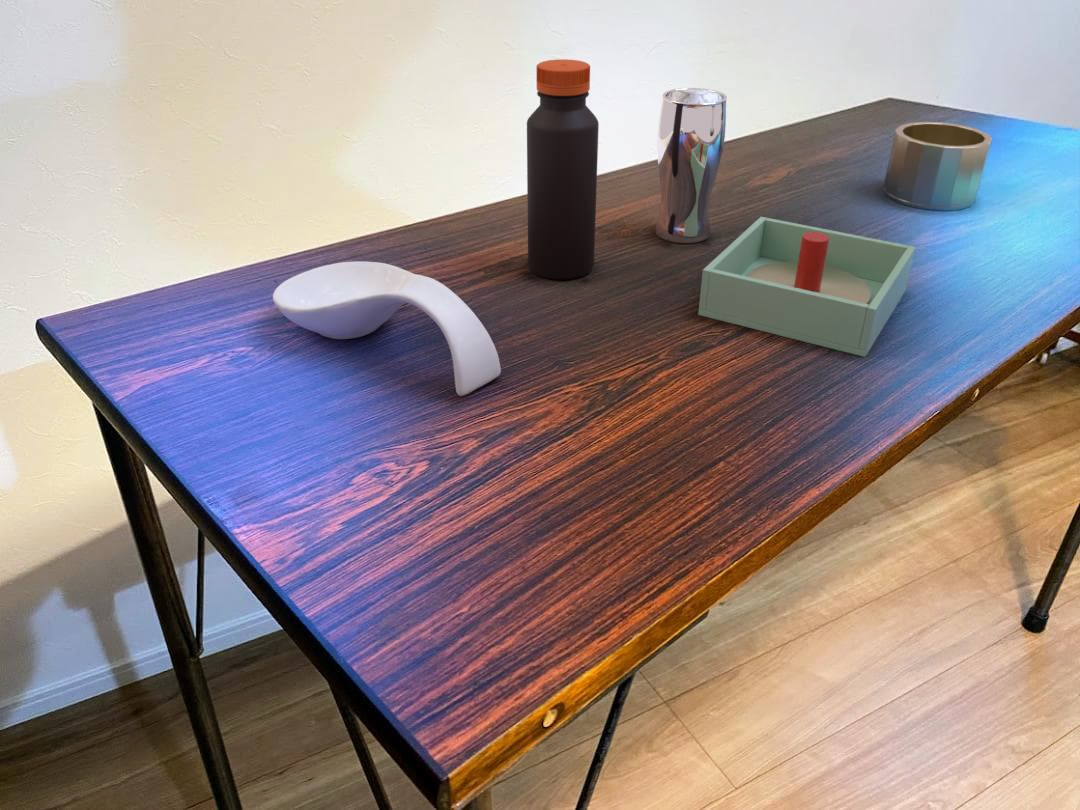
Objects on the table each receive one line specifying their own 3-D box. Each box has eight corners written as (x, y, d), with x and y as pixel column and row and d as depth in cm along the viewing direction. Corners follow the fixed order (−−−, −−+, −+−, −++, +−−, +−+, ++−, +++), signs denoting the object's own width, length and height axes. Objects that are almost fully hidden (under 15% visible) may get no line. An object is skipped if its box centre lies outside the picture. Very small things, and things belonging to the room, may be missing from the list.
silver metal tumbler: (711, 222, 104) (726, 88, 96) (715, 246, 98) (731, 105, 90) (650, 220, 104) (660, 86, 96) (651, 244, 98) (661, 103, 90)
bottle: (606, 265, 94) (615, 63, 83) (566, 287, 89) (569, 77, 78) (555, 249, 97) (557, 53, 86) (514, 269, 93) (510, 66, 82)
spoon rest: (252, 326, 82) (238, 252, 79) (353, 284, 90) (345, 215, 86) (432, 419, 69) (426, 337, 66) (533, 361, 77) (533, 284, 73)
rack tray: (905, 290, 89) (916, 246, 86) (865, 357, 78) (876, 309, 75) (755, 257, 95) (760, 216, 93) (697, 315, 84) (702, 269, 82)
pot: (981, 190, 113) (998, 129, 109) (966, 216, 105) (983, 153, 101) (894, 175, 117) (907, 117, 113) (874, 200, 110) (886, 138, 106)
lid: (882, 287, 88) (895, 228, 84) (850, 336, 79) (863, 272, 76) (767, 262, 93) (775, 205, 90) (725, 306, 84) (732, 245, 81)
